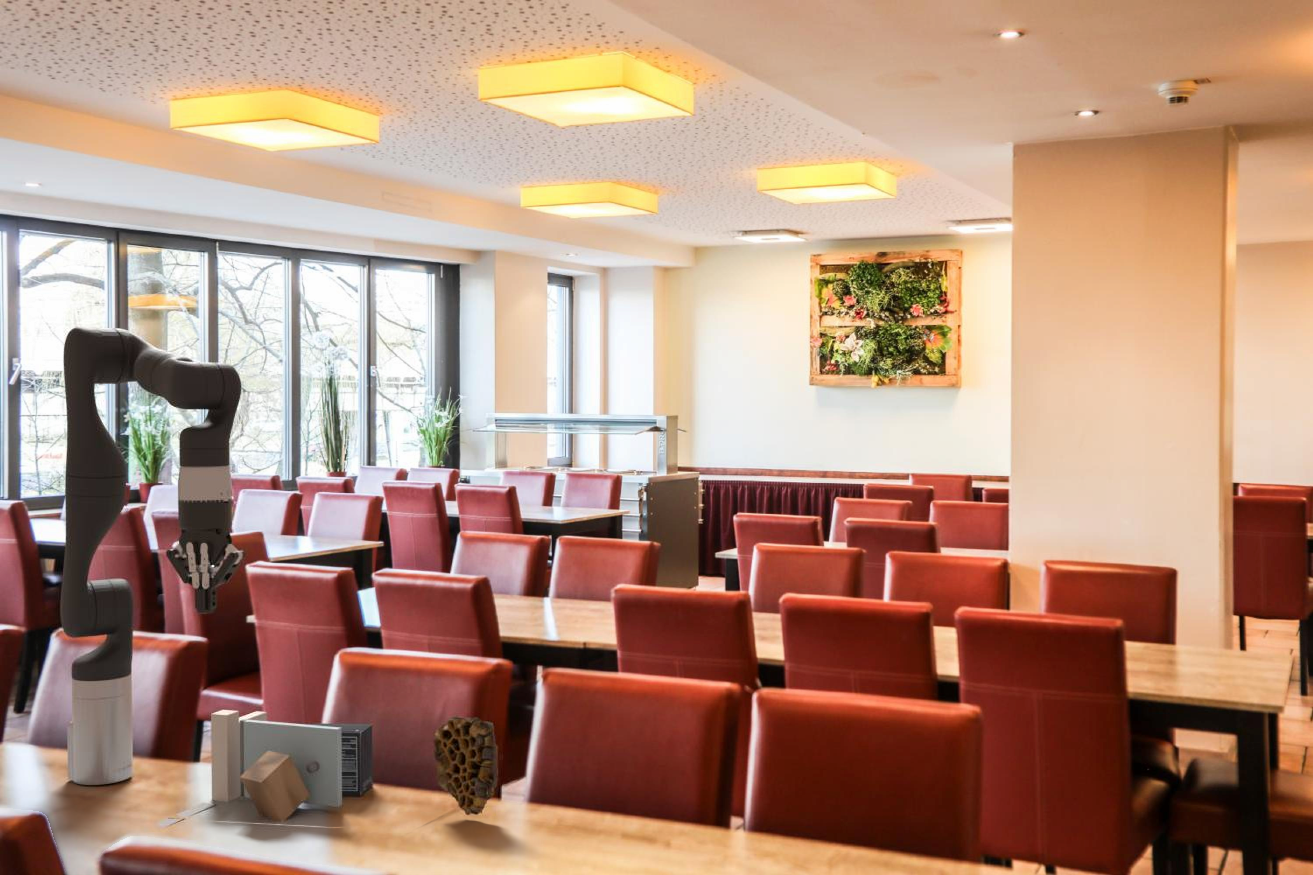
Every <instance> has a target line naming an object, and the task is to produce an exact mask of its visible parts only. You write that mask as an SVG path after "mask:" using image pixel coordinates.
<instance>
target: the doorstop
mask: <svg viewBox="0 0 1313 875" xmlns="http://www.w3.org/2000/svg"><path fill="white" fill-rule="evenodd" d="M240 779H241V781H242V782H243V784H244V786H245V788H246V790H247V792H248V794H249V796H250V797H249V798H250V800H251V801H252V803H253V806H254V807H255V809H256V811H257V813H258V814H259V816H261V817H265V818H268V819H271V820H275V821H278V822H284V821H286V820H287V819H288V818H289V817H290V816H291V815H292V814H293V813H294V812H295V811H296V810H297V809H298V808H299V807H300V806H301V805H302V804H304V803H303V802H304V801H305V800H306V799H307V798H308V797H309V796H310V795H309V793H308V791H307V789H306V787H305V785H304V783H303V781H302V779H301V777H300V775H299V773H298V771H297V769H296V767H295V765H294V763H293V761H292V759H291V757H290V755H286V754H281V753H277V752H272V751H267V752H266V753H265V754H264V755H263V756H262V757H261V758H260V759H259V760H258V761H256V762H255V763H254V764H253V765H252V766H251V767H250V768H249V769H248V770H247V771H246V772H245V773H244V774H242V775H241V776H240Z"/></svg>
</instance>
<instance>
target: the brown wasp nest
mask: <svg viewBox="0 0 1313 875" xmlns="http://www.w3.org/2000/svg"><path fill="white" fill-rule="evenodd" d="M434 736H435V737H434V738H433V746H434V747H433V749H434V750H433V757H434V760H435V762H436V780H437V785H439V786H440V787H441V788H442V789H443V790H444V791H445V792H448V793H449V794H450V795H451V797H452V798H454V799H455V801H456V802H457V804H458V807H459V808H460V809H461V810H462V811H464V813H465V814H466V816H471V815H479V814H483V811H484V808H486V807H485V806H486V804H487V802H488V801H489V800H491V798H492V797H493V796H494V795H495V792H494V790H495V788H497V785H498V780H499V778H498V774H499V768H498V767H499V766H498V765H499V763H498V762H499V761H498V755H499V751H498V750H499V746H498V745H497V744H496V737H495V736H496V735H495V728H494V723H493V722H489V721H484V720H482V719H481V718H478V717H475V716H472V717H463V716H454V717H451V718H450V719H447V721H446V723H443V724H441V725H440V728H439V729H436V730H435V733H434Z"/></svg>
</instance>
